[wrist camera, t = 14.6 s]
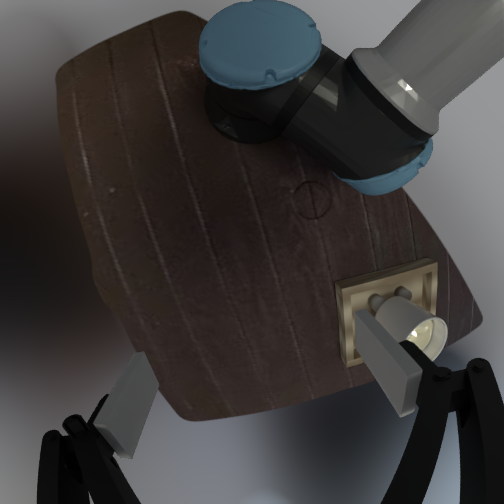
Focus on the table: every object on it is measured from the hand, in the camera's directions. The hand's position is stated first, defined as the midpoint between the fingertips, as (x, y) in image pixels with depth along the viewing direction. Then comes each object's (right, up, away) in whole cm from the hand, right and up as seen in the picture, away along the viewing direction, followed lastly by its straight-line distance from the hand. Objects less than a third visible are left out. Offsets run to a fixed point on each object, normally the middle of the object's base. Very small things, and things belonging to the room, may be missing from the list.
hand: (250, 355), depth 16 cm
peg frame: (+27, -5, +34) cm, 44 cm away
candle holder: (+27, -6, +31) cm, 42 cm away
